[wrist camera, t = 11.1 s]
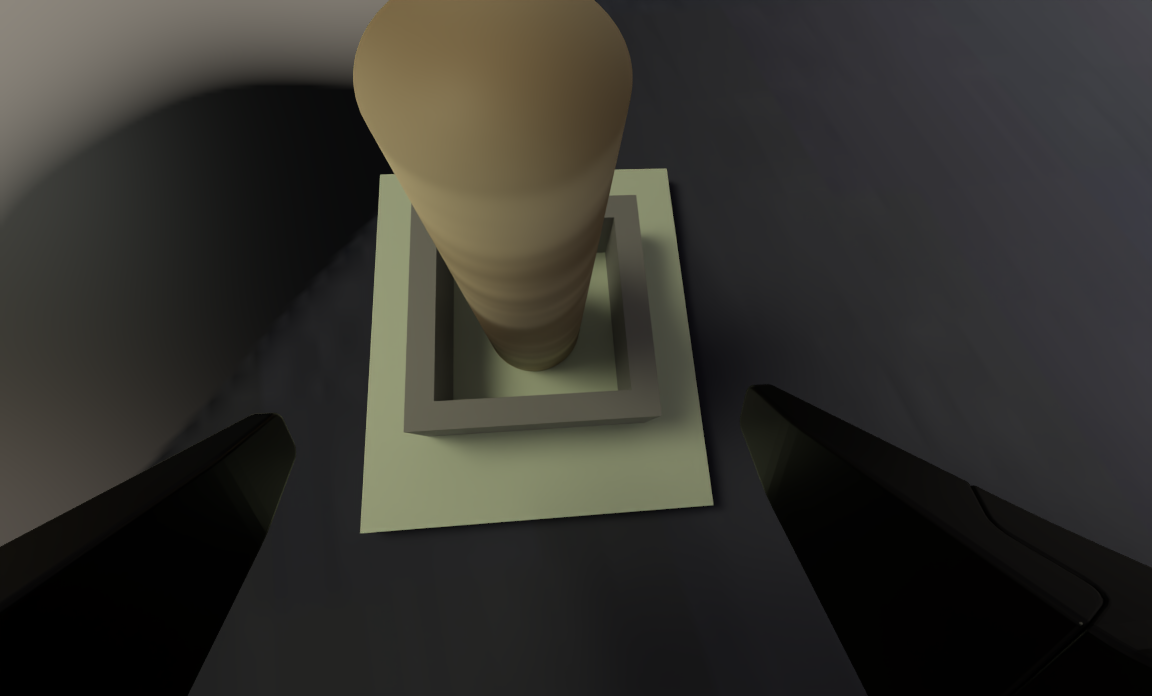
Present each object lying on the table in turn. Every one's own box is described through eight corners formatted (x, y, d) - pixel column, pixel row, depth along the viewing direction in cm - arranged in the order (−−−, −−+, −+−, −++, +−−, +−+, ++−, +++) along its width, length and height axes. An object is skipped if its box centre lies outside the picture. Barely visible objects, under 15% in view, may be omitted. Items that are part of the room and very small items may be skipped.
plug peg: (561, 384, 18) (580, 229, 6) (474, 353, 18) (300, 133, 6) (591, 302, 19) (665, 12, 7) (508, 272, 19) (425, -66, 7)
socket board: (704, 502, 18) (746, 514, 14) (370, 528, 17) (319, 549, 13) (661, 181, 22) (684, 122, 18) (388, 187, 21) (351, 127, 17)
